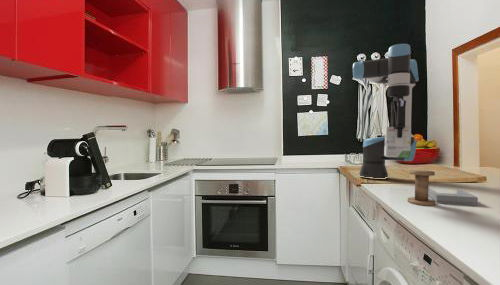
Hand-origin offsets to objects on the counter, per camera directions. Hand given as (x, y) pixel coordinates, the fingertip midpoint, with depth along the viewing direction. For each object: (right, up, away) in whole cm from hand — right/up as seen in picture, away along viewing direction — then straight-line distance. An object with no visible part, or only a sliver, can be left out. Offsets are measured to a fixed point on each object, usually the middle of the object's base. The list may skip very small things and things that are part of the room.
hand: (397, 146), depth 108 cm
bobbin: (+8, -22, -2) cm, 23 cm away
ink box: (0, -4, 0) cm, 4 cm away
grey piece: (+22, -21, +2) cm, 31 cm away
